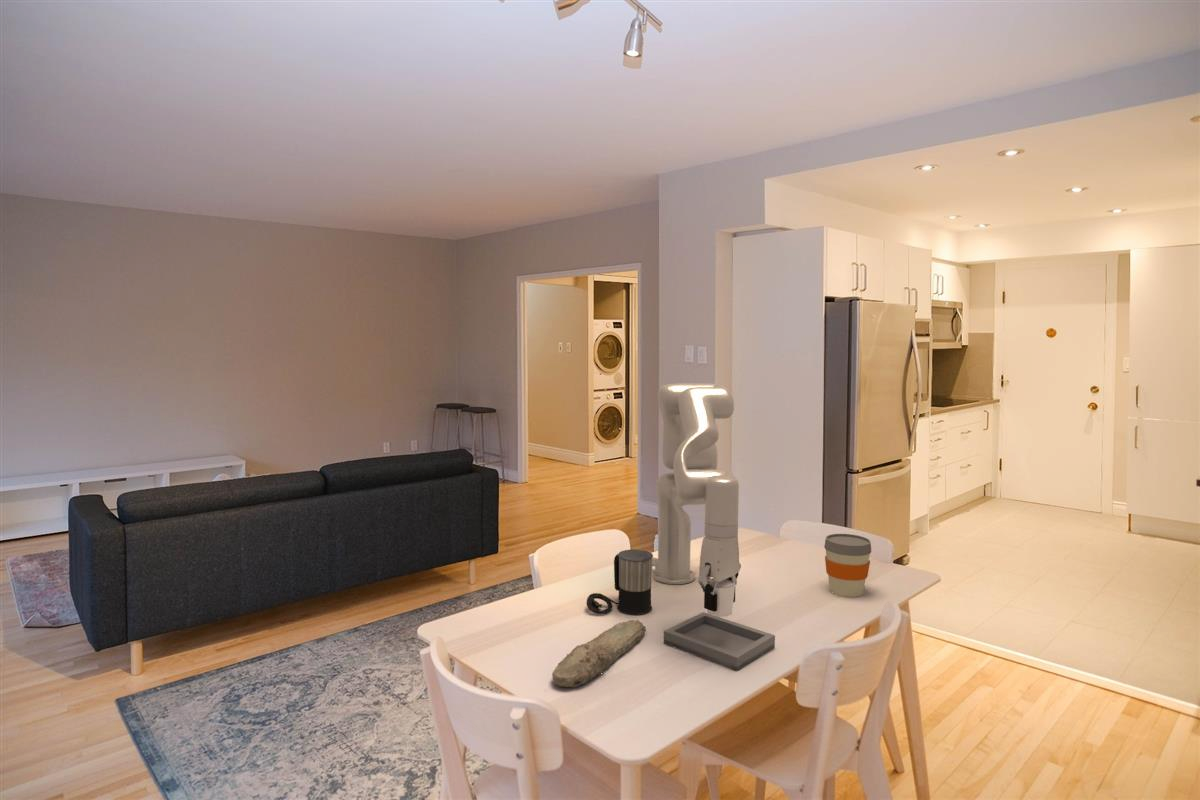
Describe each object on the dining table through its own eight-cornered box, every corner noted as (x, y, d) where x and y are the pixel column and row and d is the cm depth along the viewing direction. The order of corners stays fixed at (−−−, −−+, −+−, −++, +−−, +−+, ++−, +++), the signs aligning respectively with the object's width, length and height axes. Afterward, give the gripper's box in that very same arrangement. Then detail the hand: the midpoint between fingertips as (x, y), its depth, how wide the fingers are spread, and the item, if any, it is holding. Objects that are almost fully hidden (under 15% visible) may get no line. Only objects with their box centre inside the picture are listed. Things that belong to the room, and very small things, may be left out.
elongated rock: (656, 640, 172) (620, 633, 177) (656, 618, 172) (619, 612, 177) (581, 695, 142) (540, 685, 146) (581, 668, 142) (540, 660, 146)
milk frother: (659, 609, 188) (660, 554, 186) (619, 626, 176) (620, 568, 175) (619, 595, 197) (620, 543, 196) (579, 610, 186) (579, 555, 185)
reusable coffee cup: (855, 603, 192) (857, 548, 191) (814, 590, 202) (815, 538, 200) (878, 592, 201) (880, 540, 199) (837, 580, 210) (839, 531, 209)
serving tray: (663, 643, 166) (663, 631, 166) (703, 623, 178) (703, 612, 178) (736, 671, 153) (737, 657, 152) (774, 647, 164) (775, 635, 164)
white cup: (734, 619, 161) (735, 588, 160) (703, 616, 162) (704, 586, 161) (734, 607, 167) (735, 578, 167) (705, 605, 169) (705, 576, 168)
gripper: (728, 520, 172) (726, 592, 173) (685, 534, 159) (684, 611, 161) (755, 525, 167) (753, 599, 168) (713, 540, 154) (711, 620, 156)
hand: (719, 604), depth 164 cm, fingers closed on white cup, 6 cm apart
